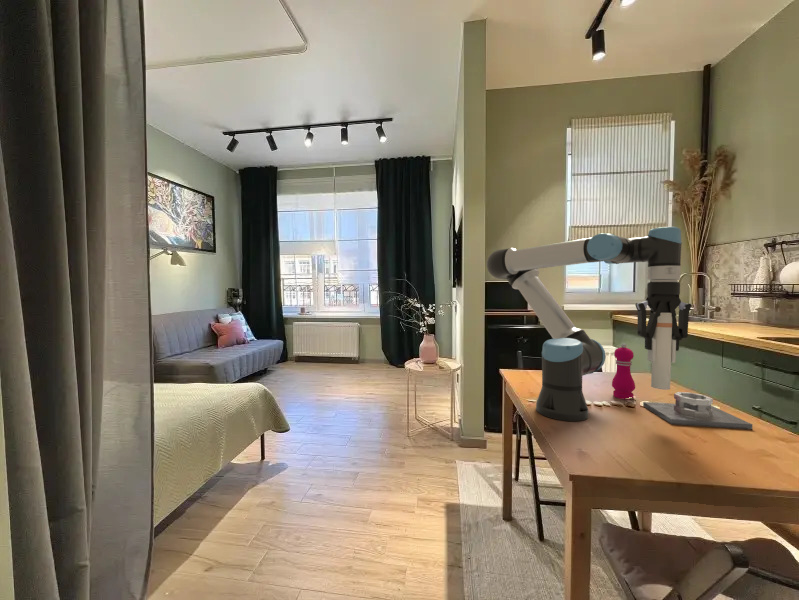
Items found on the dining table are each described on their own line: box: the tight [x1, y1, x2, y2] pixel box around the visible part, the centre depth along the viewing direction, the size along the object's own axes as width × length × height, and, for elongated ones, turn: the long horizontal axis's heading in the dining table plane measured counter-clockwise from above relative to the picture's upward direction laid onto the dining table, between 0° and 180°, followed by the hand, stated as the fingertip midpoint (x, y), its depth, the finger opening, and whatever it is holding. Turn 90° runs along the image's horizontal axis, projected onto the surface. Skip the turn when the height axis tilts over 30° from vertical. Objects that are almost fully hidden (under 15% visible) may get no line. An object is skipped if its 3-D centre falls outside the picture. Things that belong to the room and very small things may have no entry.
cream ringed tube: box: [650, 312, 672, 391], centre depth 98 cm, size 4×4×22 cm
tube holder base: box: [642, 391, 753, 430], centre depth 104 cm, size 20×16×6 cm
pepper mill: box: [611, 343, 636, 400], centre depth 124 cm, size 7×7×20 cm
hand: (661, 361), depth 98 cm, fingers closed on cream ringed tube, 4 cm apart
